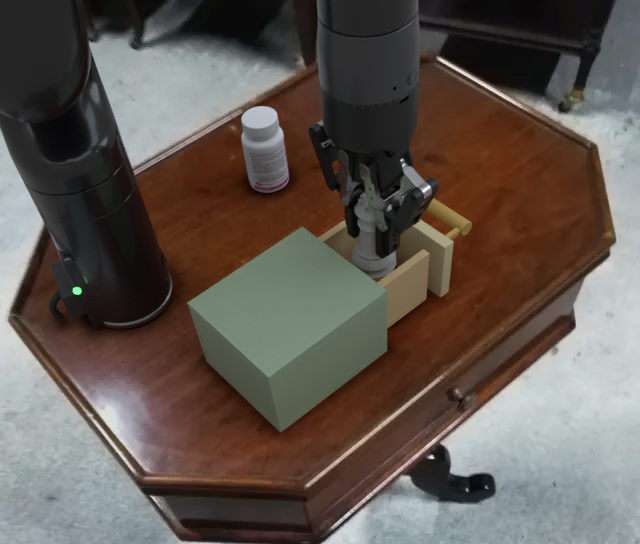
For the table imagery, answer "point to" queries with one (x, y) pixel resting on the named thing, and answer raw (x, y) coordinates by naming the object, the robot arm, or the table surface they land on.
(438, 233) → the drawer
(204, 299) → the cabinet
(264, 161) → the pill bottle
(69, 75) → the robot arm
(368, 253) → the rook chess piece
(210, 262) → the table surface
